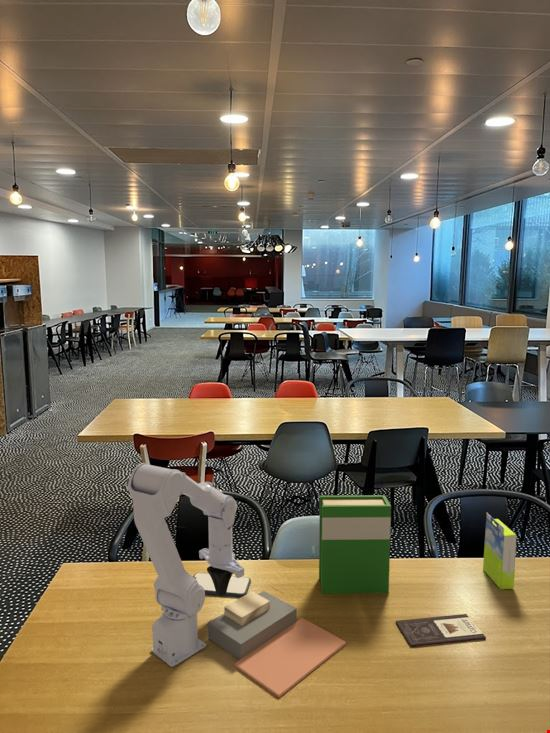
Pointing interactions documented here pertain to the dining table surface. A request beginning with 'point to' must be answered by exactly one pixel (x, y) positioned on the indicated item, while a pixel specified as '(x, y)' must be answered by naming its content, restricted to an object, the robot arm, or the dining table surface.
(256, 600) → the tile
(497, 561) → the box
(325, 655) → the mat
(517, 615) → the dining table surface
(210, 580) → the phone case
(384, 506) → the hardback book
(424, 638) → the chocolate bar
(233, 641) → the block
